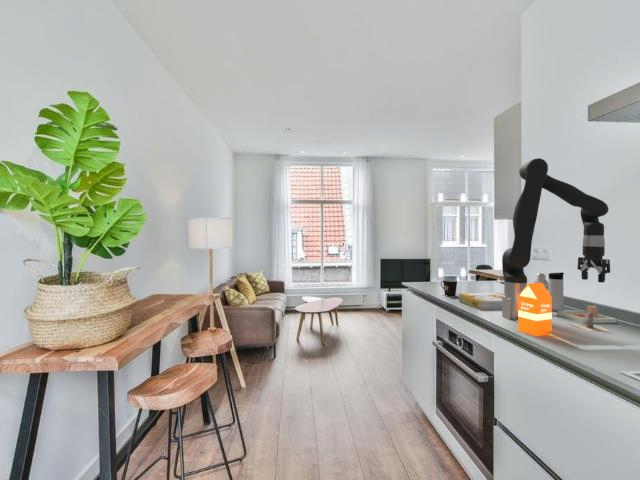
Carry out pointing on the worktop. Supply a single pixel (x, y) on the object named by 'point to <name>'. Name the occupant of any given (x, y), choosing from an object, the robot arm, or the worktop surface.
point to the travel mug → (556, 290)
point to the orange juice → (535, 310)
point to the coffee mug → (449, 287)
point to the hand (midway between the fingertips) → (592, 280)
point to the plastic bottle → (542, 280)
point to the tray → (584, 320)
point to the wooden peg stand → (589, 325)
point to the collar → (590, 310)
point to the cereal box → (482, 300)
